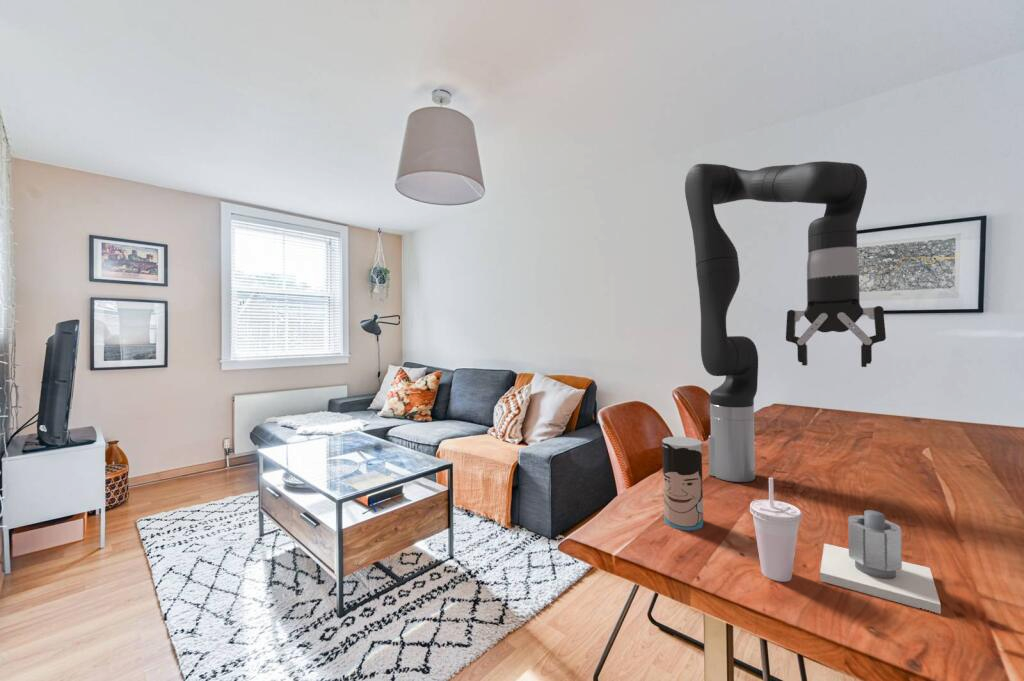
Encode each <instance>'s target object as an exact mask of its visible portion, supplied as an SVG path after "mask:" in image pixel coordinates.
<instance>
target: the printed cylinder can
mask: <svg viewBox="0 0 1024 681" xmlns="http://www.w3.org/2000/svg"><path fill="white" fill-rule="evenodd" d="M661 444H662V482H663V483H662V484H663V486H662V487H663V522H666V523H667V524H666V523H665V524H666V525H667V526H669V525H670V527H671V528H674V529H677V530H680V531H681V530H683V531H696V530H699V529H701V528H703V527H704V505H703V504H704V502H703V494H704V492H703V456H702V455H703V453H702V447H703V446H702V444H703V443H702V441H701V440H700V439H696V438H694V437H687V436H668V437H665V438H663V439H662V442H661Z"/></svg>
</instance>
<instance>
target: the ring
mask: <svg viewBox="0 0 1024 681" xmlns="http://www.w3.org/2000/svg"><path fill="white" fill-rule="evenodd" d="M847 521H848V549H849V557H850V558H852V559H853V560H855V561H857V562H859V563H860V564H862V565H866V566H867V567H872V568H876V569H880V570H884V571H885V570H887V571H893V570H901V569H902V561H903V558H902V557H903V556H902V555H903V553H902V547H903V545H902V544H903V543H902V540H903V538H902V535H903V534H902V528H901V526H900V525H898V524H897V523H894V522H892V521H890V520H887V519H885V530H877V529H872V528H867V527H865V526H864V514H860V515H859V514H858V515H857V514H856V515H849V516H848V520H847Z"/></svg>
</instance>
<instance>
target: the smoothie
mask: <svg viewBox="0 0 1024 681" xmlns="http://www.w3.org/2000/svg"><path fill="white" fill-rule="evenodd" d="M774 497H775V495H774V478H773V477H768V499H757V500H753V501H751V503H749V504H750V505H749V512H750V513H751V515H752V517H753V518H752V519H753V525H754V533H755V536H756V538H755V539H756V545H757V552H758V557H759V558H758V559H759V563H760V571H761V573H762V575H763V576H765V577H766V578H768V579H770V580H772V581H776V582H783V583H784V582H785V583H786V582H790V581H791V580H792V576H793V569H794V564H795V563H794V560H795V554H796V553H795V552H796V547H797V540H798V533H799V532H798V531H799V525H800V523H801V522H802V521H803V516H802V511H801V510H800V508H798V507H796V506H795V505H793V504H792V503H791V504H790V503H789V502H788V503H787V502H785V501H784V502H783V501H780V500H775V499H774Z"/></svg>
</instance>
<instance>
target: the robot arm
mask: <svg viewBox="0 0 1024 681" xmlns="http://www.w3.org/2000/svg"><path fill="white" fill-rule="evenodd" d="M686 174H687V175H686V177H685V180H684V181H685V183H684V195H685V201H686V205H687V210H688V211H687V212H688V215H689V220H690V224H691V225H690V226H691V230H692V238H693V245H694V246H693V247H694V256H695V268H696V279H697V285H698V294H699V306H700V307H699V308H700V310H699V311H700V355H701V356H700V357H701V361H702V362H701V363H702V366H703V367H704V369H705V371H706V372H707V373H708V374H709V375H711V376H714V377H725V379H724V382H723V383H722V384H720V385H719V386H718V387H717V388H715V389H713V390H712V391H711V392H710V394H709V405H710V406H709V411H710V435H708V440H707V441H708V476H710V475H711V476H712V477H714V476H715V478H717V479H719V480H723V481H727V482H733V483H749V482H752V481H754V480H756V466H755V464H756V462H755V461H756V459H755V458H756V455H755V453H756V452H755V448H756V447H755V414H754V413H755V408H754V407H755V406H754V405H755V404H754V403H755V396H756V395H757V392H758V381H759V380H758V376H759V355H758V349H757V346H756V344H755V342H754V341H753V340H752V339H751V338H749V337H748V336H744V335H736V336H735V335H732V336H729V335H728V332H727V314H728V311H729V307H730V305H731V303H732V301H733V298H734V296H735V294H736V292H737V290H738V288H739V283H740V280H741V276H740V275H741V274H740V264H739V262H740V261H739V256H738V255H739V254H738V252H737V248H736V246H735V245H734V242H733V241H732V240H731V238H730V237H729V236H728V234H727V233H726V231H725V230H724V229H723V227H722V226H721V224H720V223H719V221H718V217H717V214H716V212H715V207H714V206H715V205H722V204H726V203H731V202H737V201H743V200H752V201H758V202H768V203H803V204H804V203H806V204H817V205H818V204H821V205H826V206H825V212H824V213H823V216H822V217H818V218H816V219H814V220H812V221H811V222H810V224H809V225H808V230H807V252H808V254H807V260H806V261H807V262H806V299H807V300H806V302H807V303H806V309H805V310H795V309H789V310H787V312H786V323H785V324H786V325H785V327H786V328H785V340H786V341H787V342H789V343H793V344H795V345H796V347H797V361H798V363H801V366H808V365H809V364H808V344H807V342H808V341H809V340H810V339H811V338H812V337H813V335H814V334H815V333H817V331H818V332H820V333H830V332H836V333H845V332H847V331H849V330H850V331H851V333H852V334H853V335H854V336H856V337H857V338H858V339H859V340H860V341H861V344H862V345H861V346H860V357H861V358H860V361H861V362H860V363H861V365H860V366H861V368H867V365H868V364H872V361H873V359H872V356H873V354H872V350H873V349H872V348H873V345H874V344H876V343H880V342H883V341H884V342H885V340H887V336H886V335H887V334H886V324H885V313H884V307H883V306H880V305H877V306H874V307H862V305H861V304H860V303H861V302H860V273H861V272H860V271H861V269H860V261H859V259H860V258H859V253H858V241H857V240H858V229H857V227H858V226H857V224H858V221H859V217H860V215H861V213H862V208H863V204H864V200H865V197H866V193H867V189H868V180H867V179H868V178H867V176H866V173H865V171H864V169H863V168H862V166H860V165H858V164H857V163H852V162H851V163H850V162H840V161H839V162H838V161H810V162H806V163H805V162H804V163H800V164H784V165H783V164H781V165H770V166H765V167H761V168H759V169H754V170H748V169H741V168H737V167H731V166H729V165H726V164H717V163H716V164H713V163H696V164H695V165H693V166H692V167H690V168H689V170H688V171H687V173H686ZM864 314H865V315H867V317H868V319H870V320H874V329H875V330H874V331H875V332H874V333H875V334H874V335H872V336H868V334H866V332H864V331H863V330H862V329H861V328H860V327H859V326H858V325H857V324H856V323H857V321H858V320H859V319H860V318H861V317H862V316H863V315H864ZM802 317H805V318H806V320H807V321H808V322H809V323H810V324H811V325H809V327H808V328H807V329H805V331H804V332H803V334H802V335H801V336H800V337H798V336H796V323H798V322H800V321H801V318H802ZM711 476H710V477H711Z"/></svg>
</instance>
